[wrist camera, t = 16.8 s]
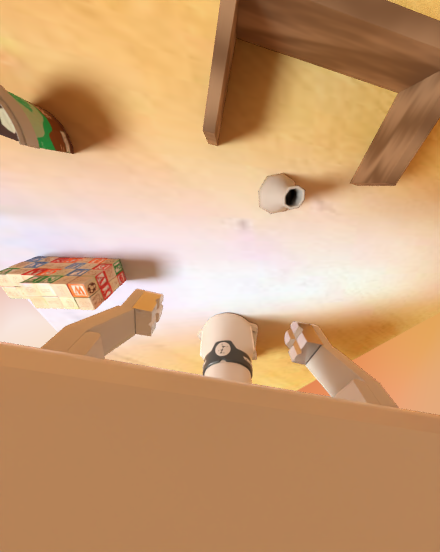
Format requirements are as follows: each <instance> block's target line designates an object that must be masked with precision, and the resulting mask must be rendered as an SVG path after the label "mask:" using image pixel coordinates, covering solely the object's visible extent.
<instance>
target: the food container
mask: <svg viewBox="0 0 440 552" xmlns="http://www.w3.org/2000/svg"><path fill="white" fill-rule="evenodd" d="M0 135H3V136H6V137H8V138H11V139H14V140H16V141H19V143H20V144H22V145H26V146H30V147H34V148H39V149H40V148H44V149H49V150H55V151H60V152H66V153H72V154H73V147H72V144H71V141H70V139H69V136H68V134H67V132H66V131H65V129H64V128H63V126H62V125H61V123H60V122H59V121H58V120H57V119H56V118H55V117H54V116H53V115H52V114H50V113H49V112H47V111H46V110H44V109H42V108H40V107H38V106H36V105H34V104H32V103H30V102H28V101H26V100H24V99H22V98H20V97H18V96H16V95H14V94H12V93H10V92H8V91H6V90H5V89H4V88H3V87H2V86H1V85H0Z"/></svg>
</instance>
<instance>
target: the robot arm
mask: <svg viewBox="0 0 440 552" xmlns="http://www.w3.org/2000/svg"><path fill="white" fill-rule="evenodd" d="M162 301H163V294H159V293H155V292H150V291H145V290H141V289H136V290H135V291H134V292H133V293H132V294H131V295H130V296H129V297H128V299H127V300H126V301H125V302H124V303H123V304H122V305H121V306H116V307H113V308H111V309H108V310H106V311H103V312H101V313H98V314H95V315H93V316H90V317H88V318H85V319H83V320H80V321H78V322H75V323H72V324H70V325H67V326H65V327H64V328H63V329H62V330H61V331H59V332H58V333H57V334H56V335H55V336H54V337H53V338H51V339H50V340H49V341H48V342H47V343H46V344H45V345H44V346H42V347H41V348H36V347H30V346H24V345H18V344H12V343H6V342H0V552H440V415H437V414H431V413H425V412H419V411H412V410H407V409H400V408H399V407H398V406H397V405H396V403H395V402H394V401H393V399H392V398H391V397H390V396H389V394H388V393H387V392H386V391H385V389H384V388H383V387H382V385H381V384H380V383H379V382H378V381H376V380H375V379H374V378H373V377H372V376H370V375H369V374H368V373H367V372H365V371H364V370H363V369H362V368H360V367H359V366H358V365H356V364H355V363H354V362H352V361H351V360H350V359H349V358H348V357H346V356H345V355H344V354H343V353H341V352H340V351H339V350H337V349H336V348H334V347H332V345H331V344H330V342H329V341H328V339H327V338H326V336H325V335H324V333H323V332H322V330H321V329H320V327H319V326H317V325H313V324H306V323H301V322H296V321H293V322H292V323H291V325H290V327H291V328H290V329H289V330H287V331H286V333H285V337H284V340H285V344H286V346H287V347H288V348H289V355H290V357H291V360H292V362H295V363H300V364H304V365H306V367H307V368H308V369H309V370H310V371H311V373H312V374H313V375H314V376H315V377H316V379H317V380H318V381H319V382H320V384H321V385H322V386H323V387H324V388H325V390H326V391H327V392H328V393H329V394H330V395H331V397H329V396H323V395H317V394H311V393H305V392H299V391H293V390H287V389H281V388H275V387H269V386H263V385H257V384H252V380H251V379H252V365H251V362H252V360H256V359H257V353H256V349H255V348H256V340H257V333H258V326H257V325H256V324H254V323H250V322H248V321H247V320H246V319H244V318H243V317H241V316H239V315H236V314H231V313H223V314H218V315H215V316H213V317H212V318H210V319H209V320H208V321H207V322H206V324H205V326H204V328H203V329H201V330H200V331H199V332H198V337H199V339H200V340H201V350H200V356H202V358H203V360H204V364H203V375H198V374H192V373H186V372H180V371H174V370H168V369H162V368H156V367H150V366H144V365H138V364H132V363H126V362H120V361H114V360H108V359H105V357H104V356H105V355H107V354H108V353H110V352H111V351H112V350H114V349H115V348H117V347H118V346H120V345H121V344H122V343H124V342H125V341H127V340H128V339H130V338H131V337H133V336H134V335H135V334H140V335H146V336H151V335H152V333H153V331H154V329H155V327H156V322H158V321H159V319H160V317H161V314H162V309H163V305H162V304H161V303H162Z"/></svg>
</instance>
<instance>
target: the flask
mask: <svg viewBox="0 0 440 552" xmlns="http://www.w3.org/2000/svg"><path fill="white" fill-rule="evenodd" d="M304 200H305V190H304V189H303V188H301V187H300V186H298V185H297V186H295V181H294V180H292V179H291V178H289V177H287V176H286V175H284V174H283V173H281V174H276V175H271V176H267V177H266V179H265V181H264V182H263V184H262V186H261V188H260V190H259V207H260V208H262V209H264V210H266V211H267V212H269V213H271V214H272V213H277V212H283V211H286V209H287V208H288V209H295V208H299V207H300V205H301V204H302V203H303V201H304Z"/></svg>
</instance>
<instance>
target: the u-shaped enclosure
mask: <svg viewBox="0 0 440 552" xmlns="http://www.w3.org/2000/svg"><path fill="white" fill-rule="evenodd" d="M236 38H238V39H241V40H244V41H247V42H250V43H253V44H256V45H259V46H262V47H265V48H267V49H270V50H273V51H276V52H279V53H282V54H285V55H288V56H291V57H294V58H297V59H300V60H303V61H306V62H309V63H312V64H315V65H318V66H321V67H323V68H326V69H329V70H332V71H335V72H338V73H341V74H344V75H347V76H350V77H353V78H356V79H359V80H362V81H365V82H368V83H371V84H374V85H377V86H379V87H382V88H385V89H388V90H391V91H394V92H397V93H398V95H397V97H396V99H395V100H394V102H393V104H392V106H391V108H390V110H389V112H388V113H387V115H386V117H385V119H384V121H383V123H382V125H381V126H380V128H379V130H378V132H377V134H376V136H375V138H374V139H373V141H372V143H371V145H370V147H369V149H368V151H367V152H366V154H365V156H364V158H363V160H362V162H361V164H360V166H359V167H358V169H357V171H356V173H355V175H354V177H353V179H352V180H351V182H350V184H354V185H357V186H395V185H396V183H397V182H398V180H399V179H400V177H401V176H402V174H403V173H404V171H405V170H406V168H407V167H408V165H409V163H410V162H411V160H412V159H413V157H414V156H415V154H416V153H417V151H418V150H419V148H420V147H421V145H422V144H423V142H424V141H425V139H426V138H427V136H428V135H429V133H430V132H431V130H432V129H433V127H434V126H435V124H436V123H437V121H438V119H439V118H440V21H438V20H436V19H433V18H431V17H428V16H426V15H423V14H420V13H418V12H415V11H413V10H410V9H407V8H405V7H402V6H400V5H397V4H395V3H392V2H389V1H387V0H221V1H220V8H219V15H218V23H217V30H216V37H215V45H214V52H213V59H212V66H211V74H210V81H209V88H208V96H207V103H206V110H205V118H204V125H203V132H204V134H205V137H206V139H207V141H208V143H209V144H212V145H216V146H217V144H218V139H219V133H220V127H221V121H222V116H223V110H224V104H225V99H226V93H227V87H228V82H229V76H230V70H231V65H232V59H233V53H234V48H235V42H236Z"/></svg>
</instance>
